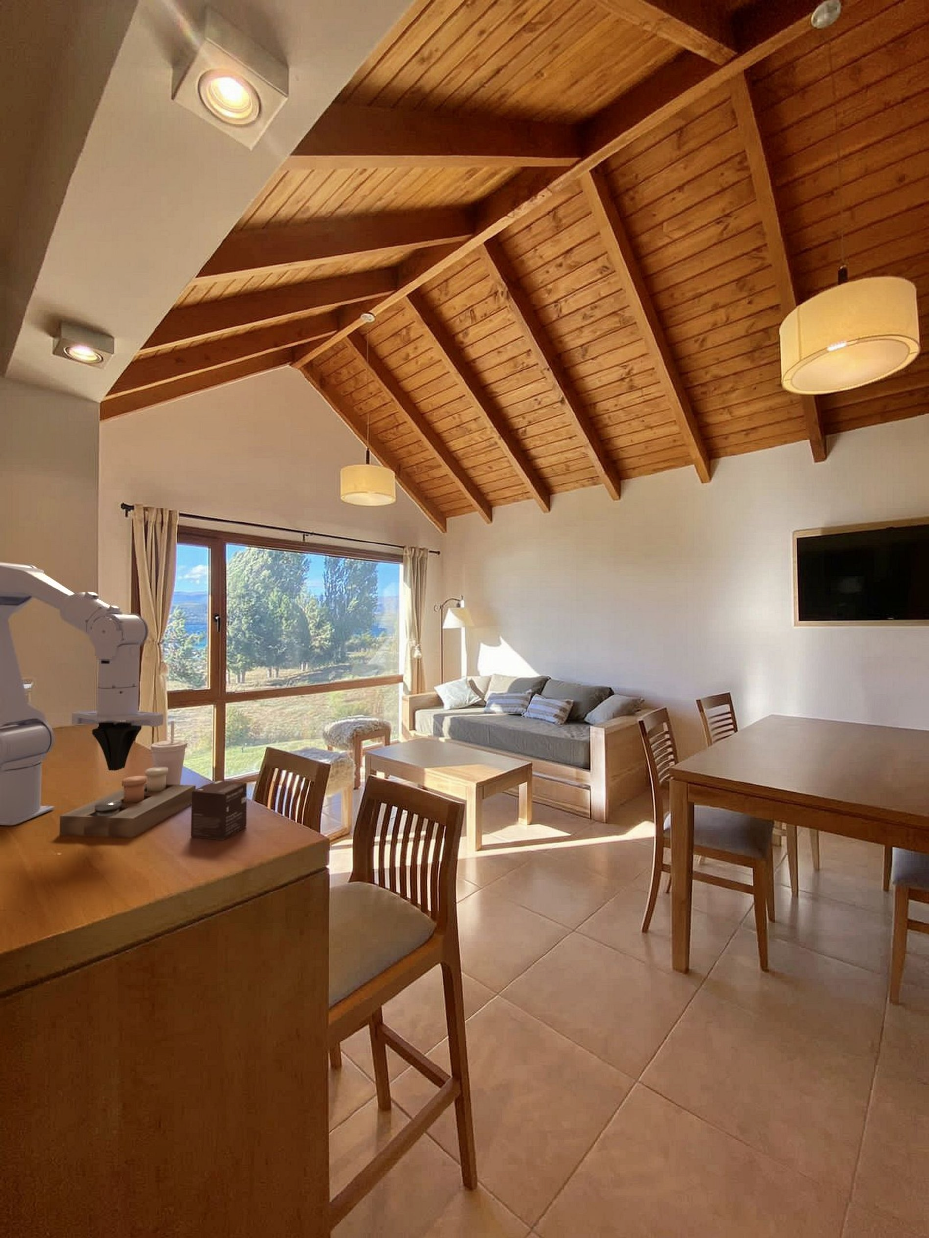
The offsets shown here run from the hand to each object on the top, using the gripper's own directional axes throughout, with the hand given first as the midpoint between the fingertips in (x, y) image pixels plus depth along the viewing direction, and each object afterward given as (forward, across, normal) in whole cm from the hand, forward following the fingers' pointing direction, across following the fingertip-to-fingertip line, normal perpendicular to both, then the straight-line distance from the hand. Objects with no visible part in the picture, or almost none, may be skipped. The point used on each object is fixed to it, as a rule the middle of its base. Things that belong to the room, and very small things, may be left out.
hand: (116, 768), depth 86 cm
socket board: (+9, 0, +4) cm, 10 cm away
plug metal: (+9, 0, -2) cm, 9 cm away
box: (+10, +18, 0) cm, 20 cm away
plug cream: (+7, 0, +10) cm, 12 cm away
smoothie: (+10, -2, +17) cm, 20 cm away
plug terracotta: (+7, 0, +4) cm, 8 cm away
